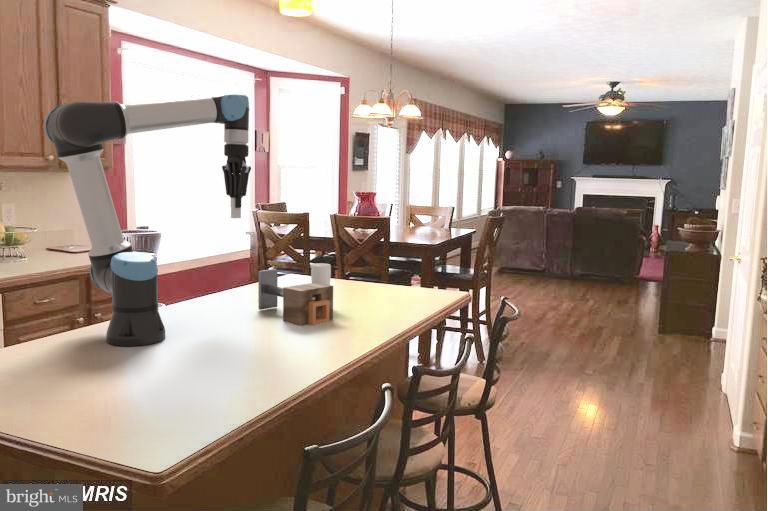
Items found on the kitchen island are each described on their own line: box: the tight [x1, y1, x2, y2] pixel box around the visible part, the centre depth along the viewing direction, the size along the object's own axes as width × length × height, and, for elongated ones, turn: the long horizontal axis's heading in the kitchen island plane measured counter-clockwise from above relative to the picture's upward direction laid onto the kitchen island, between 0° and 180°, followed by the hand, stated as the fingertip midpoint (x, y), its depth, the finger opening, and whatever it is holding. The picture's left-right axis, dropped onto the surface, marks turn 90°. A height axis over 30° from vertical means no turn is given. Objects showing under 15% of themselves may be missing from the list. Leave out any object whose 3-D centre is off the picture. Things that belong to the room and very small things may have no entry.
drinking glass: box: [310, 262, 332, 285], centre depth 222 cm, size 7×7×15 cm
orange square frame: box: [307, 300, 330, 326], centre depth 199 cm, size 7×2×7 cm, turn 138°
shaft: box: [257, 268, 318, 311], centre depth 208 cm, size 7×24×13 cm, turn 48°
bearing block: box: [282, 282, 334, 327], centre depth 202 cm, size 14×8×11 cm, turn 138°
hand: (235, 217), depth 206 cm, fingers closed
